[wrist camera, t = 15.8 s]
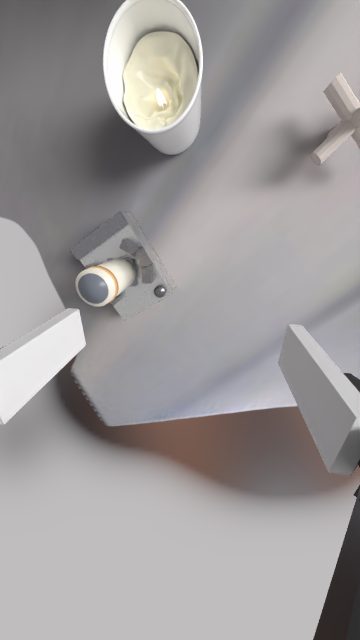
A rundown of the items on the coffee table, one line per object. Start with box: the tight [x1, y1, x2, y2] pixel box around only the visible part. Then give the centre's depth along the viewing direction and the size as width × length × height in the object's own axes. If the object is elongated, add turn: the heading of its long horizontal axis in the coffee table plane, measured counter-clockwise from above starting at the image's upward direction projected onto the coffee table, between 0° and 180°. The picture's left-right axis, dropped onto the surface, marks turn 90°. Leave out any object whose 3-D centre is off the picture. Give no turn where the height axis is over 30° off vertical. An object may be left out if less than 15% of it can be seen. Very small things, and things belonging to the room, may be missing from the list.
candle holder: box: [103, 0, 203, 155], centre depth 26 cm, size 10×10×12 cm
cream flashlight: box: [76, 258, 137, 307], centre depth 32 cm, size 5×5×10 cm
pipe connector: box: [311, 73, 360, 165], centre depth 25 cm, size 10×10×10 cm
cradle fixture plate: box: [70, 211, 176, 320], centre depth 38 cm, size 15×11×7 cm
